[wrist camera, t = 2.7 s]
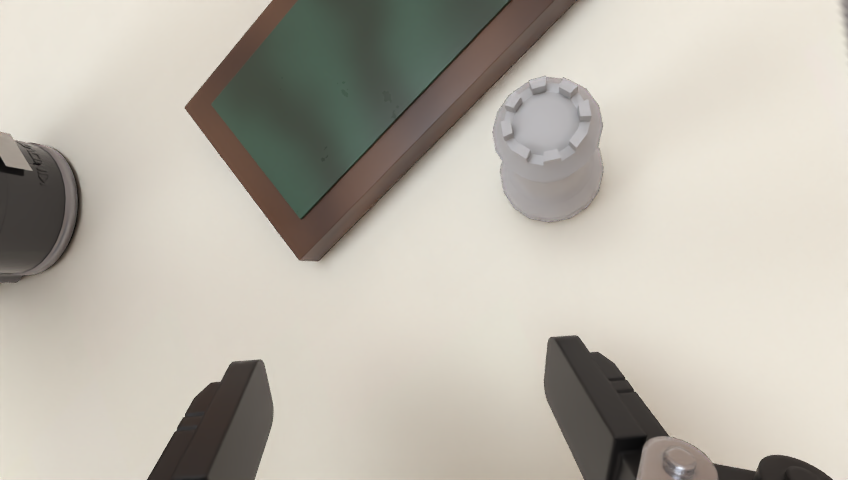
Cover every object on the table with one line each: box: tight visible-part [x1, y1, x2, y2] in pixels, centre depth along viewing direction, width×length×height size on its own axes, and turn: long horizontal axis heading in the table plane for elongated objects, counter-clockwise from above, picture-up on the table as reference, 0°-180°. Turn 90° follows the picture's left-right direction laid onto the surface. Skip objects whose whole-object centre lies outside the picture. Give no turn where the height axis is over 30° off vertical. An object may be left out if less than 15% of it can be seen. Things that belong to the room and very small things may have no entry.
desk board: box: [185, 0, 577, 261], centre depth 22 cm, size 20×12×2 cm, turn 130°
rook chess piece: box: [493, 76, 603, 222], centre depth 16 cm, size 4×4×8 cm
